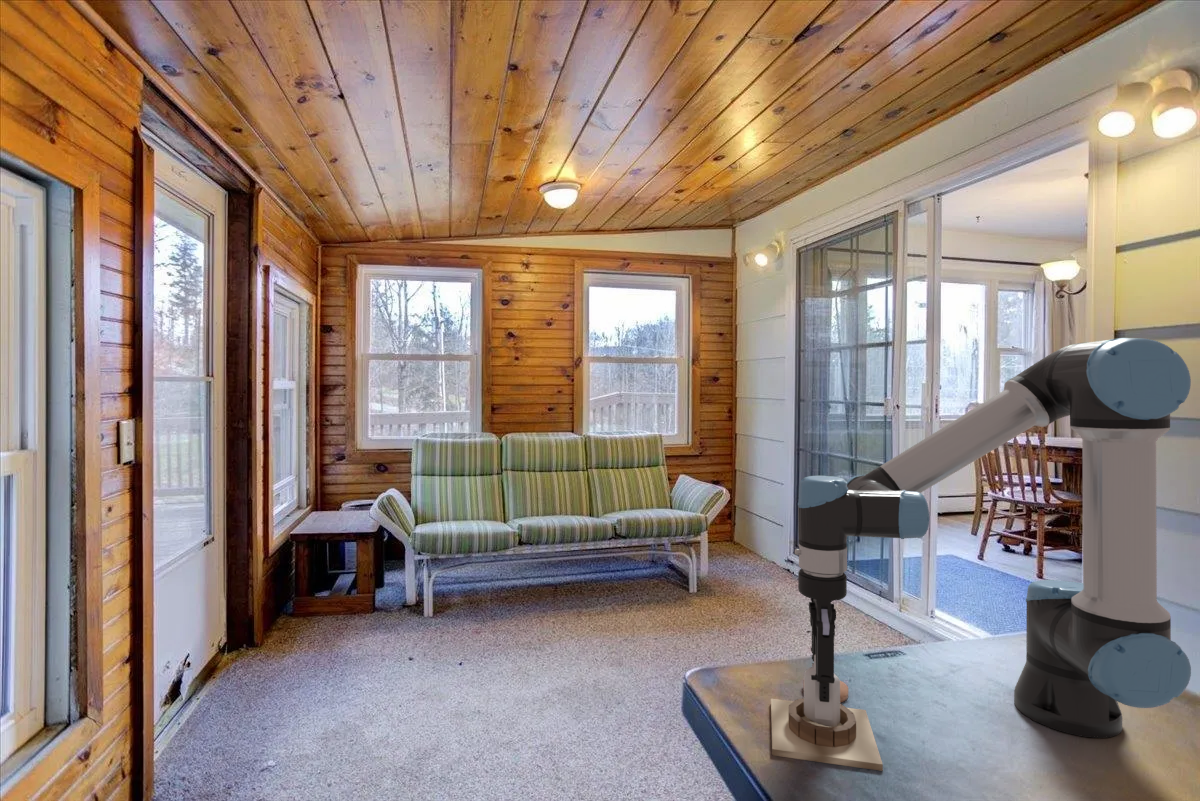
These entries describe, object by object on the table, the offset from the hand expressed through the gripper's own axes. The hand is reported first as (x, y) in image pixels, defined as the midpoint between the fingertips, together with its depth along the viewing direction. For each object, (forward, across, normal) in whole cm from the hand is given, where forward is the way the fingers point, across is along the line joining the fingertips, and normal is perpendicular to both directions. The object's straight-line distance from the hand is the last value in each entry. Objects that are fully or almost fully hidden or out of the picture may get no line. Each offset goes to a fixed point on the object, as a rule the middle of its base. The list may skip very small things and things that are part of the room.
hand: (822, 709), depth 102 cm
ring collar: (+4, 0, 0) cm, 4 cm away
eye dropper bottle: (+2, 0, 0) cm, 2 cm away
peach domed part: (+4, -15, +2) cm, 16 cm away
